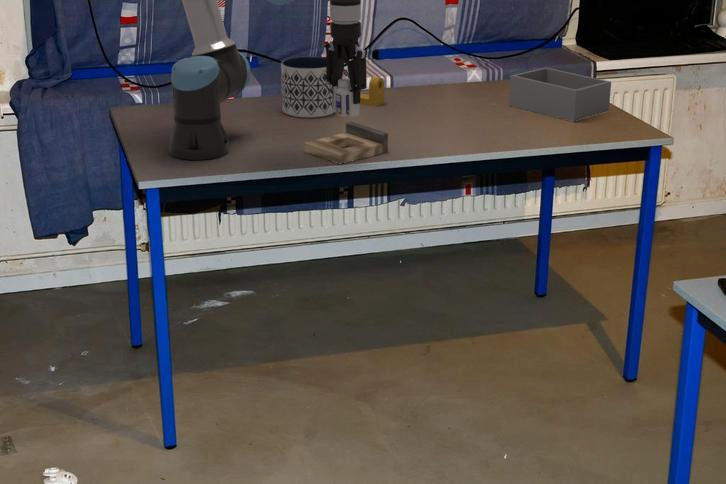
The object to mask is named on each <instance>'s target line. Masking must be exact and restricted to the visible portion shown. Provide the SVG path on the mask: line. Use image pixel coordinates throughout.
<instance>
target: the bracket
mask: <svg viewBox="0 0 726 484" xmlns="http://www.w3.org/2000/svg"><path fill="white" fill-rule="evenodd" d="M384 104H385V80H384V78H383V77H379V76H378V77H377V76H372V77H371V78H370V80H369V83H368V94H365V93H360V103H359V105H365V106H369V107H370V106H371V107H379V106H381V105H382V106H383V105H384Z"/></svg>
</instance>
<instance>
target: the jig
mask: <svg viewBox="0 0 726 484" xmlns="http://www.w3.org/2000/svg"><path fill="white" fill-rule="evenodd" d="M303 145H304V153H306V154H309V155H312V156H314V155H315V156H314V157H317V156H318V158H320V157H321V158H320V159H323V158H324V159H323V160H326V159H327V160H326V161H328V160H331V161H334V162H337V163H344V162H347V161H352V160H356V161H359V160H358V159H360V160H362V158H363V159H367V158H370V157H374V155H375V156H377V155H382V154H385V153H388V151H389V133H388V132H386V131H382V130H379V129H376V128H373V127H369V126H366V125H363V124H360V123H356V122H354V121H350V122H346V123H345V132H342V133H339V134H338V133H337V134H334V135H330V136H327V137H322V138H318V139H314V140H310V141H306V142H304V143H303ZM346 146H347V147H346ZM342 147H343V148H342ZM366 157H367V158H366ZM331 161H330V162H331ZM334 162H333V163H334ZM352 162H353V161H352ZM337 163H336V164H337Z"/></svg>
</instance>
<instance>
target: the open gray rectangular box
mask: <svg viewBox="0 0 726 484" xmlns="http://www.w3.org/2000/svg"><path fill="white" fill-rule="evenodd" d="M509 77H510V79H509V80H510V81H509V97H508V99H509V101H508V106H509V107H513V108H516V109H520V110H524V111H528V112H532V111H533V112H532V113H535V112H537V113H536V114H539V113H541V114H540V115H543V114H545V116H547V115H550V116H549V117H551V116H554V117H553V118H555V117H559V118H562V119H561V120H563V119H567V120H571V121H576V120H579V119H582V118H585V117H588V116H592V115H595V114H599V113H602V112H606V111H609V112H610V102H611V92H612V90H611V89H612V81H610V80H609V81H608V80H605V79H600V78H595V77H590V76H586V75H582V74H578V73H573V72H568V71H563V70H560V69H554V68H550V67H541V68H538V69H534V70H529V71H525V72H521V73H516V74H512V75H510V76H509ZM559 118H558V119H559ZM567 120H566V121H567Z"/></svg>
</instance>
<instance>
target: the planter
mask: <svg viewBox="0 0 726 484" xmlns="http://www.w3.org/2000/svg"><path fill="white" fill-rule="evenodd" d="M280 76H281V77H280V79H281V83H280V84H281V109H282V112H283V113H284V114H286V115H288V116H291V117H295V118H301V119H303V118H306V119H312V118H313V119H314V118H323V117H328V116H331V115H333V114H334V113H335V112H334V98H333V93H332V85H331V83H330V82H327V81H326V57H325V56H313V55H311V56H310V55H309V56H307V55H305V56H304V55H303V56H295V57H289V58H285V59H283V60H282V61H281V62H280ZM331 77H332V76H331Z"/></svg>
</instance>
